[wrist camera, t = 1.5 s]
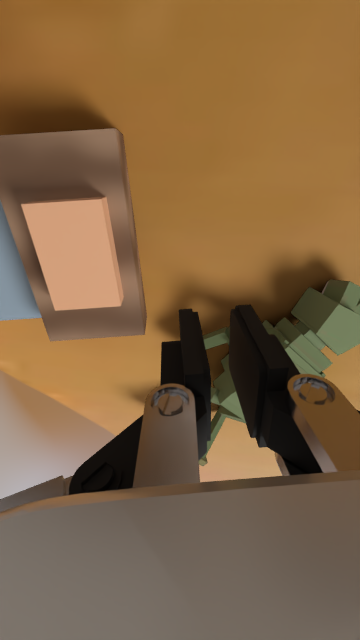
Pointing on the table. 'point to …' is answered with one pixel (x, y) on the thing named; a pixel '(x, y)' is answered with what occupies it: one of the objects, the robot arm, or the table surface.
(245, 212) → the table surface
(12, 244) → the mat
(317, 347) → the toy
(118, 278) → the tan flat block
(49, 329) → the plate
